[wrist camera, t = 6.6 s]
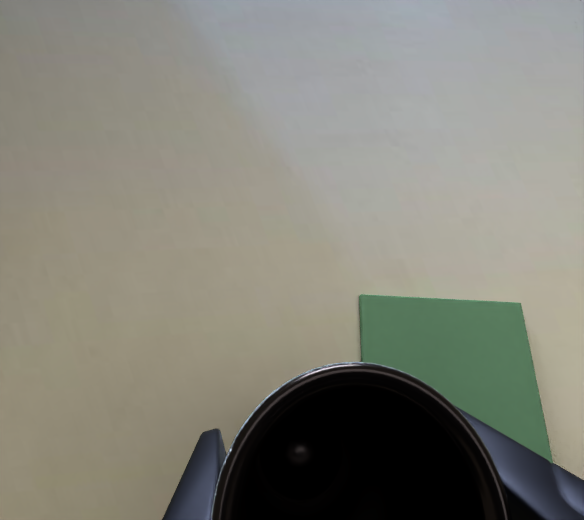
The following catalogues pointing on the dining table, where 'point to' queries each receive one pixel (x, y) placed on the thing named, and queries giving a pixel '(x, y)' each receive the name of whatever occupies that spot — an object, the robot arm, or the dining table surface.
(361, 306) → the green mat
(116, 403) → the dining table surface
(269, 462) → the grey tumbler
